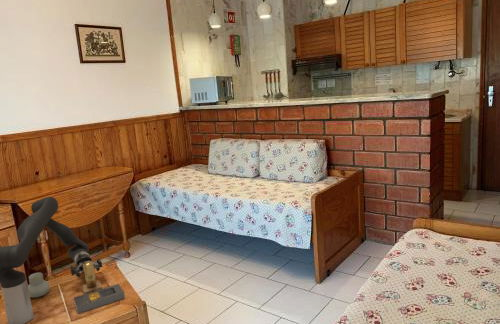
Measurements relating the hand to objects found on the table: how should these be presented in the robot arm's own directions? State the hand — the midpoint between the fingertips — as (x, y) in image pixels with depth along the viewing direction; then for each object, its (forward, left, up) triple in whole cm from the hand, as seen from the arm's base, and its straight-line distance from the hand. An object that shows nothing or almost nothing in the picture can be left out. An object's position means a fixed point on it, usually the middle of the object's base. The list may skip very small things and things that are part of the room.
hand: (88, 272), depth 189 cm
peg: (0, -2, -7) cm, 7 cm away
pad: (0, -2, -9) cm, 9 cm away
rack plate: (+1, -15, -9) cm, 17 cm away
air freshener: (-22, +11, -9) cm, 26 cm away
